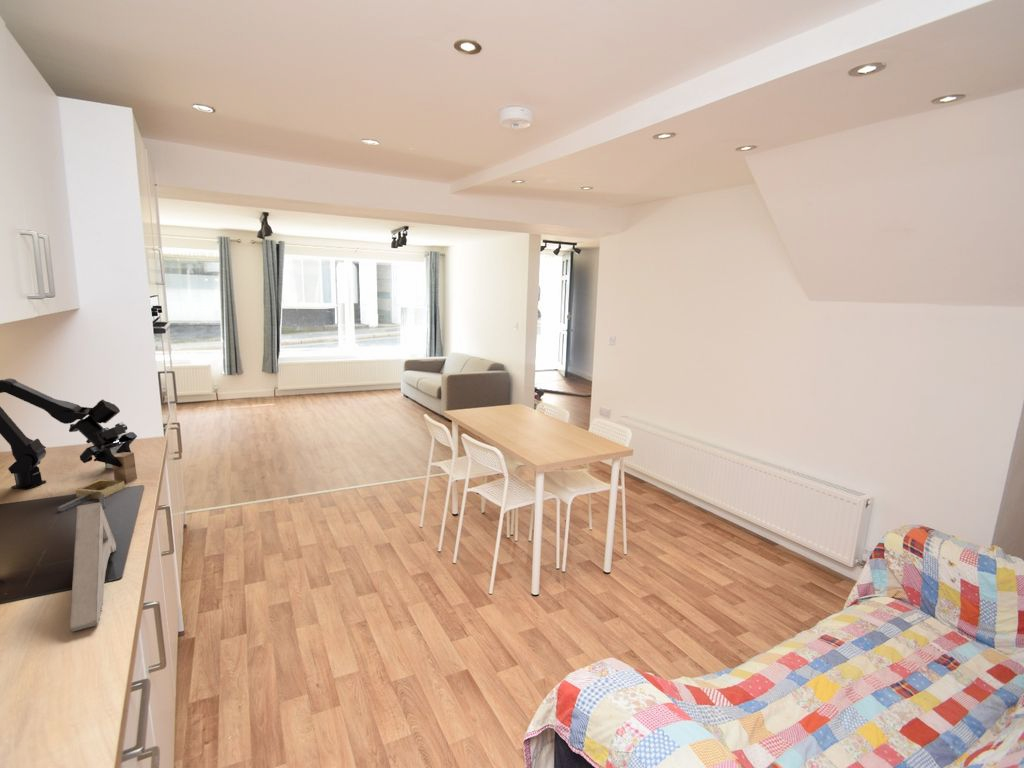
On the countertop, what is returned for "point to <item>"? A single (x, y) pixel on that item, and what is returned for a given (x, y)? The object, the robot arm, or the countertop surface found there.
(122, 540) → the countertop surface
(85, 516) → the wall bracket
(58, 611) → the countertop surface
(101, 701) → the countertop surface
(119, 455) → the brown wooden block
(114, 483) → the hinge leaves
